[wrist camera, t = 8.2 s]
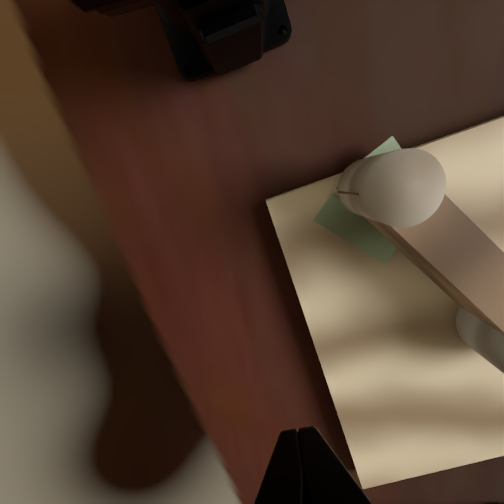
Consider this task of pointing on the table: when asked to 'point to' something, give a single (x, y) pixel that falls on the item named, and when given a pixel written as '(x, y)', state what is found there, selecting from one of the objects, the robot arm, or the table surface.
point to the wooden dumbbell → (433, 238)
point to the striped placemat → (398, 320)
